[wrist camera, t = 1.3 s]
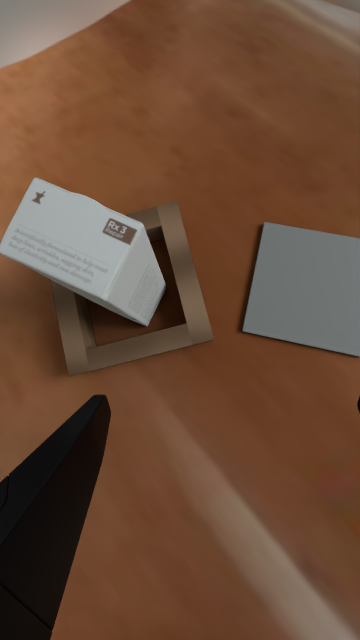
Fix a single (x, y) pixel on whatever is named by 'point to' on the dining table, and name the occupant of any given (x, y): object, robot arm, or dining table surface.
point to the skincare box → (86, 250)
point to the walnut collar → (197, 330)
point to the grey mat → (306, 289)
